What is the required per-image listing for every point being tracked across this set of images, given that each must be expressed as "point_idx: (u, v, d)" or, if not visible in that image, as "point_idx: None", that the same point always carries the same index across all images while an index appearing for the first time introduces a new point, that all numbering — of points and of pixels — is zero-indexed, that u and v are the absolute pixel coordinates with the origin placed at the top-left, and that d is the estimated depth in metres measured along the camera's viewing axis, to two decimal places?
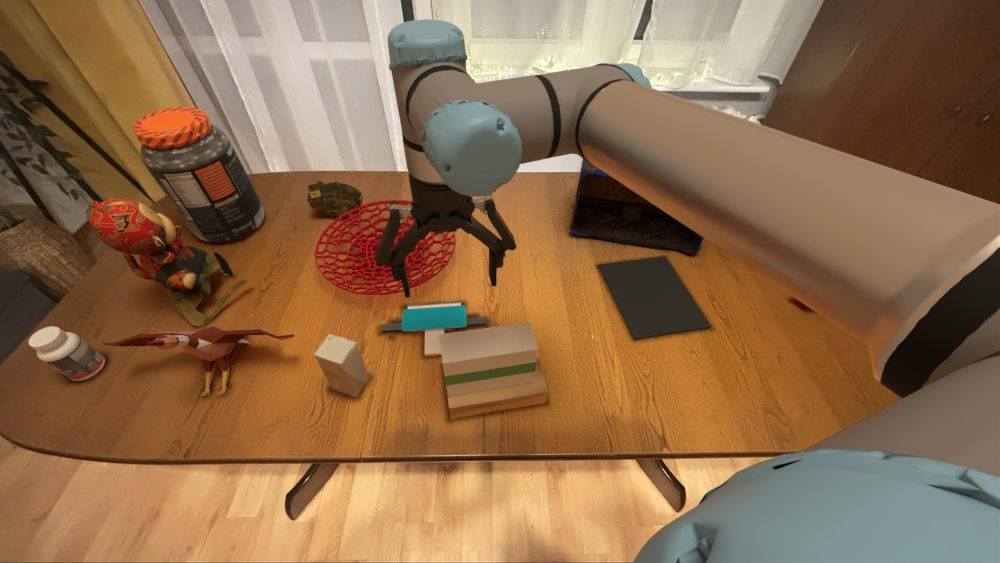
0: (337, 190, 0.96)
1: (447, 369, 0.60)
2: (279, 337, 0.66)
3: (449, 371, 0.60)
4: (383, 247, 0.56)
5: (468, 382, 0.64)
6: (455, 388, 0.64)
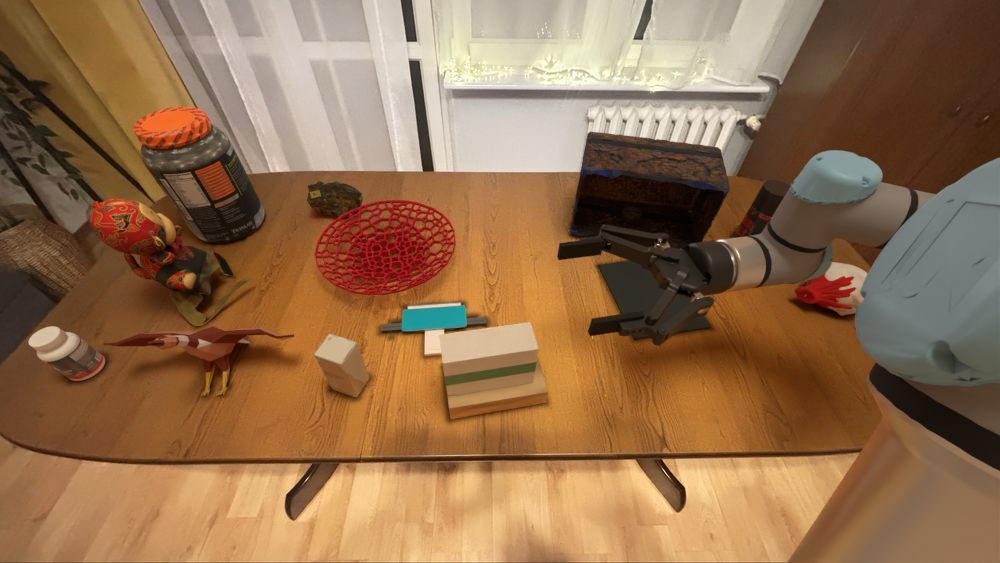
0: (337, 190, 0.96)
1: (447, 369, 0.60)
2: (279, 337, 0.66)
3: (449, 371, 0.60)
4: (626, 229, 0.61)
5: (468, 382, 0.64)
6: (455, 388, 0.64)
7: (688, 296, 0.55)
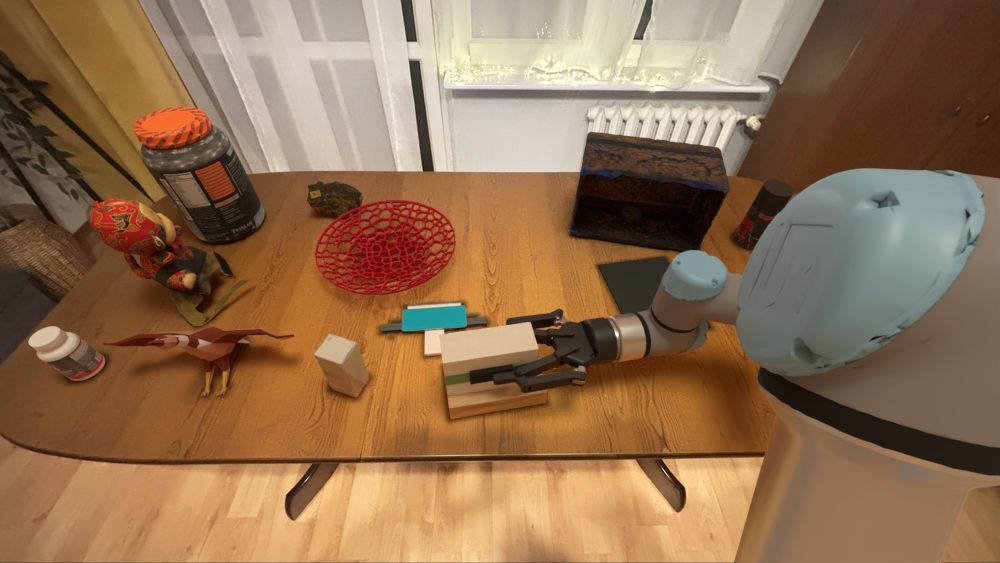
0: (337, 190, 0.96)
1: (447, 369, 0.60)
2: (279, 337, 0.66)
3: (449, 371, 0.60)
4: (527, 316, 0.69)
5: (468, 382, 0.64)
6: (455, 388, 0.64)
7: None
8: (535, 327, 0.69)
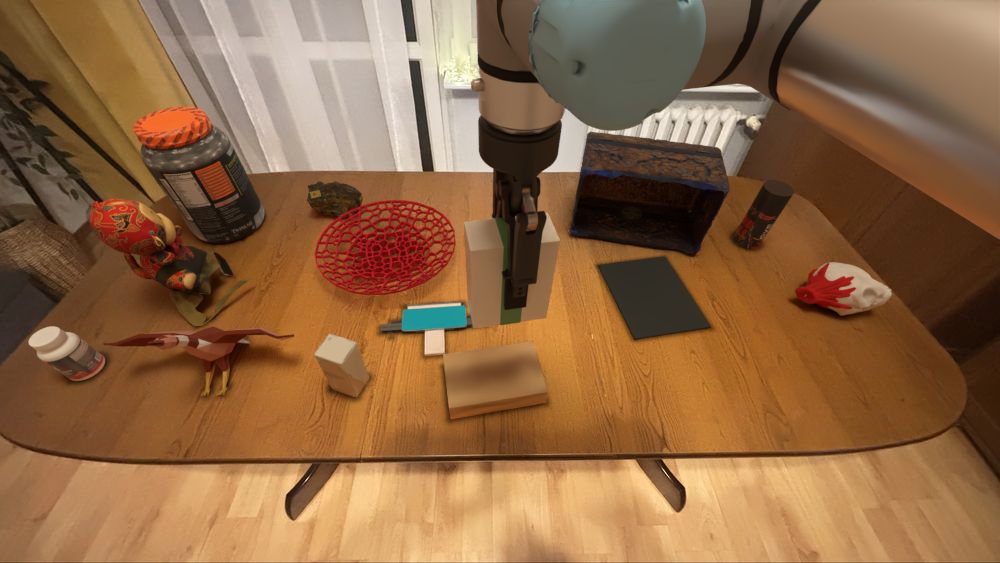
0: (337, 190, 0.96)
1: None
2: (279, 337, 0.66)
3: None
4: (538, 260, 0.42)
5: None
6: None
7: None
8: None
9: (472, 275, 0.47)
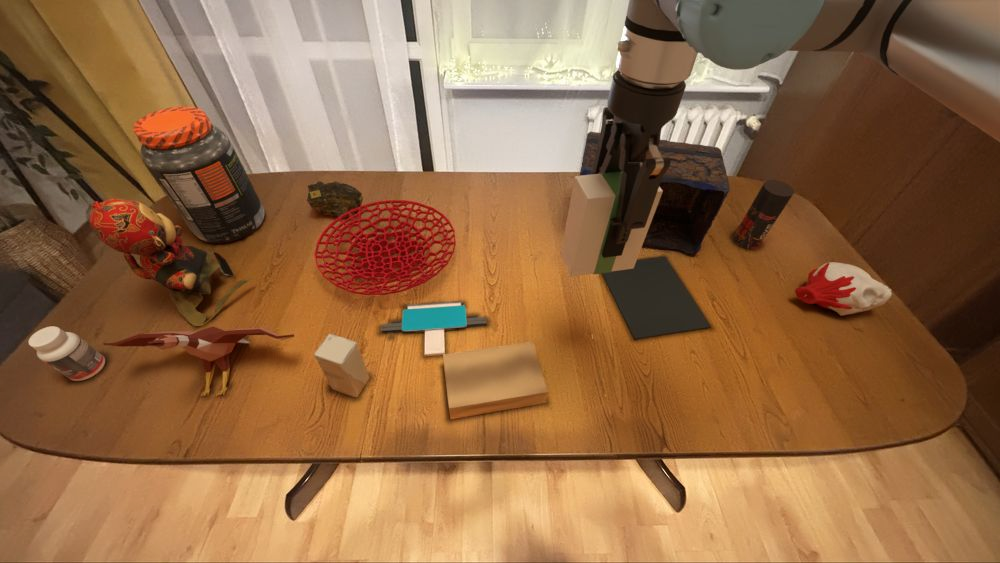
0: (337, 190, 0.96)
1: None
2: (279, 337, 0.66)
3: None
4: (651, 204, 0.49)
5: None
6: None
7: None
8: None
9: (583, 223, 0.53)
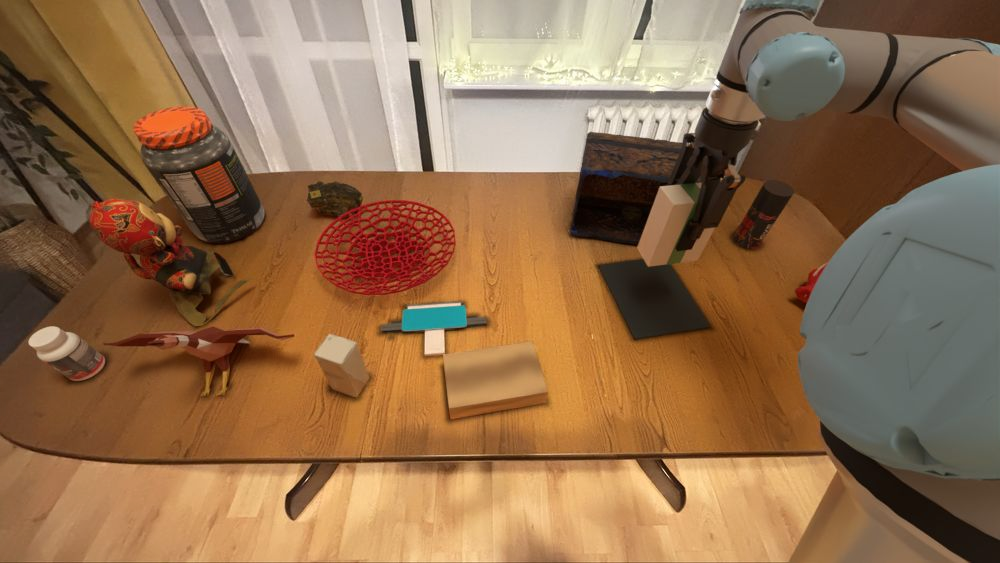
0: (337, 190, 0.96)
1: None
2: (279, 337, 0.66)
3: None
4: None
5: None
6: None
7: None
8: None
9: (666, 223, 0.68)
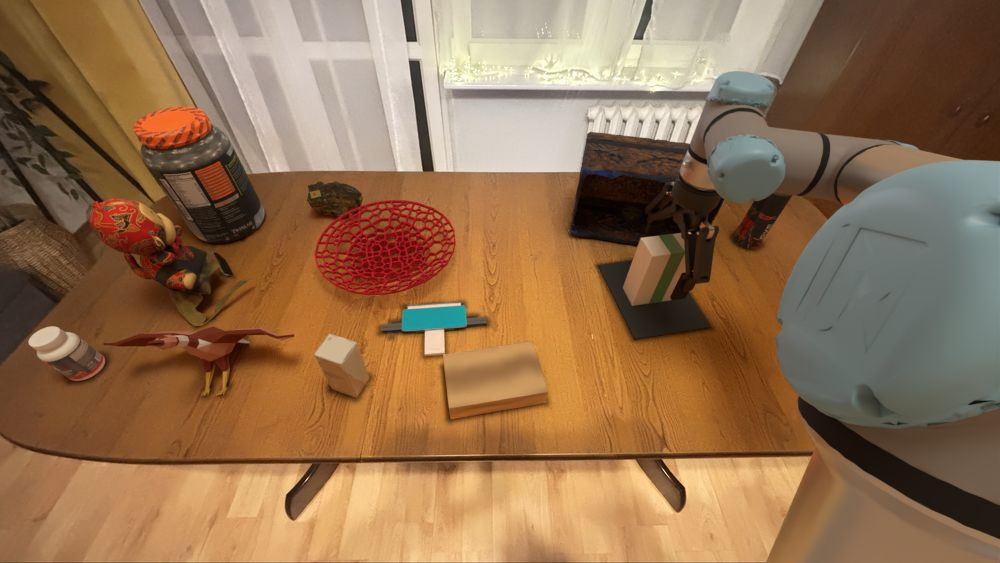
0: (337, 190, 0.96)
1: None
2: (279, 337, 0.66)
3: None
4: None
5: None
6: None
7: None
8: None
9: (647, 271, 0.76)
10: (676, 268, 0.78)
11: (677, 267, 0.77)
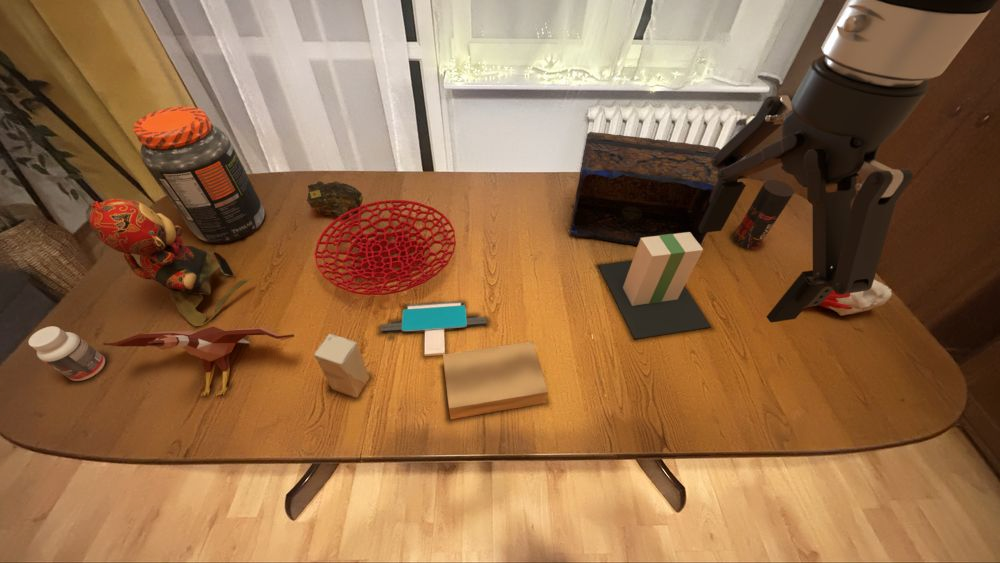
0: (337, 190, 0.96)
1: None
2: (279, 337, 0.66)
3: None
4: None
5: None
6: None
7: None
8: None
9: (647, 271, 0.76)
10: (676, 268, 0.78)
11: (677, 267, 0.77)
